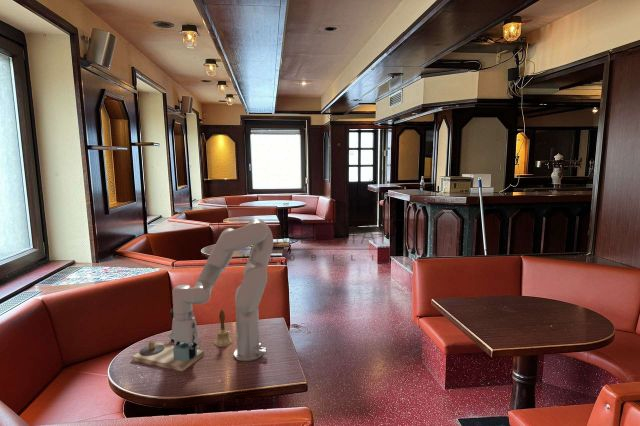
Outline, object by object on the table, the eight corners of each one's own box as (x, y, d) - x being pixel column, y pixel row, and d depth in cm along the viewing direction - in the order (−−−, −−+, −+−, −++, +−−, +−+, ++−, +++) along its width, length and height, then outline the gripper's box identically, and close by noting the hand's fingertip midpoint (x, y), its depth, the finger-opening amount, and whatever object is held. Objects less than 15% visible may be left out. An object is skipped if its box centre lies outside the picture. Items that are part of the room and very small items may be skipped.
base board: (204, 355, 163) (203, 342, 162) (182, 371, 150) (181, 357, 149) (155, 345, 172) (154, 333, 172) (130, 360, 159) (129, 346, 158)
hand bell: (229, 346, 171) (228, 313, 169) (211, 346, 171) (210, 313, 169) (234, 338, 179) (233, 306, 177) (217, 338, 179) (215, 306, 177)
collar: (197, 354, 160) (196, 343, 159) (186, 361, 153) (186, 350, 153) (184, 351, 162) (183, 340, 161) (173, 359, 156) (173, 347, 155)
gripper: (206, 314, 156) (208, 354, 158) (172, 309, 162) (175, 348, 164) (194, 321, 149) (196, 363, 151) (160, 315, 155) (162, 356, 157)
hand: (185, 355), depth 158 cm, fingers closed on collar, 6 cm apart
